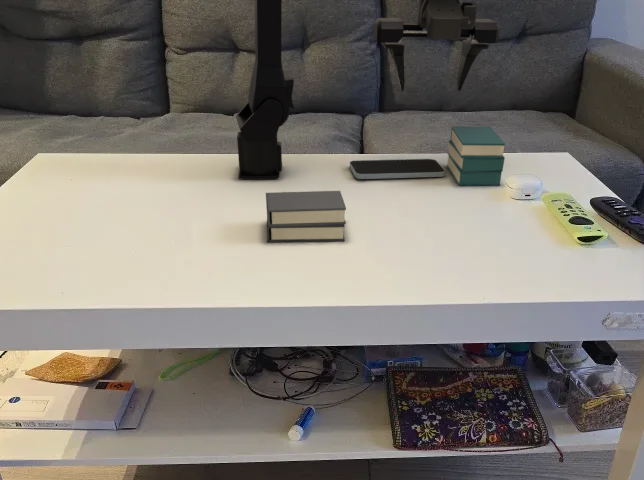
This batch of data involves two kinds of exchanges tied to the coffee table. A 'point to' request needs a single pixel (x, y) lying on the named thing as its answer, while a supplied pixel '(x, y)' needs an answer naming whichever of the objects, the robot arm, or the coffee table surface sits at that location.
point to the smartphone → (396, 168)
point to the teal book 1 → (477, 142)
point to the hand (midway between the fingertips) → (430, 90)
